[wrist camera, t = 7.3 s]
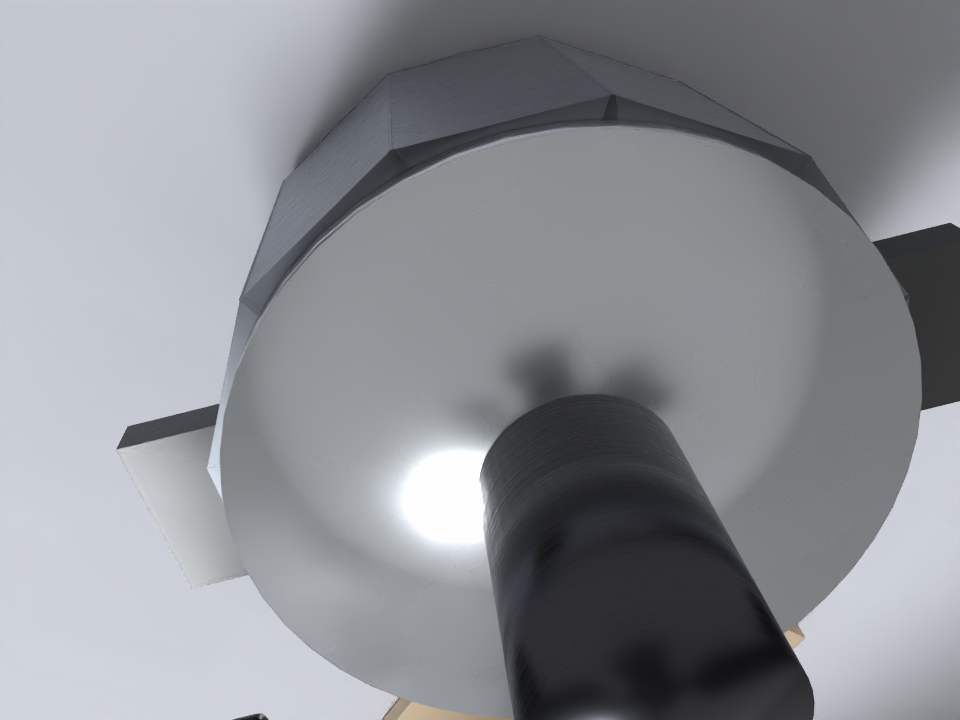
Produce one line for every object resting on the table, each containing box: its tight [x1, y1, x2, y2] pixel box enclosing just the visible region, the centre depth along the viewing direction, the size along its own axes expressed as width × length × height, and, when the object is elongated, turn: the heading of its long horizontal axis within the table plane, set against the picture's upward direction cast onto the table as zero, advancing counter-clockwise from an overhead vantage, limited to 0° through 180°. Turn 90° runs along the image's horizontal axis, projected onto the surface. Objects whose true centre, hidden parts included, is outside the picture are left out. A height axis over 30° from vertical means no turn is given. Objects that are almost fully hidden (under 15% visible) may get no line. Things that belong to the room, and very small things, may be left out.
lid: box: [220, 119, 922, 720], centre depth 11 cm, size 11×11×6 cm
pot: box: [116, 36, 960, 588], centre depth 16 cm, size 14×11×6 cm
